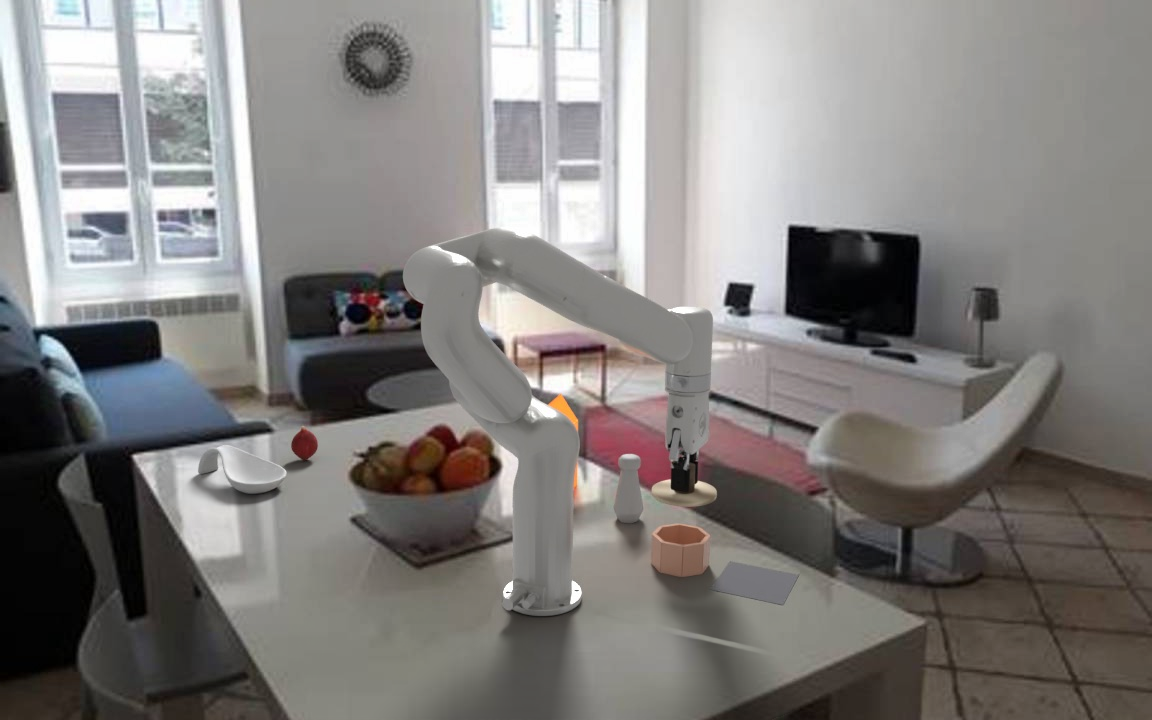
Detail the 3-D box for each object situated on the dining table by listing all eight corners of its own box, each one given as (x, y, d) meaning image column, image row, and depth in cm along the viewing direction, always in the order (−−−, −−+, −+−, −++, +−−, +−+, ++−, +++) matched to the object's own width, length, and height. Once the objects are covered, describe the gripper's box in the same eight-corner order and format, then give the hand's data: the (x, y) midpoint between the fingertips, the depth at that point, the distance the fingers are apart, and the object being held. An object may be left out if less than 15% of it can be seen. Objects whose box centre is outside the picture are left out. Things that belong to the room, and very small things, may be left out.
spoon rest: (298, 488, 198) (297, 455, 197) (251, 504, 189) (249, 470, 187) (229, 465, 211) (227, 435, 210) (181, 480, 202) (179, 448, 200)
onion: (324, 459, 216) (322, 425, 214) (304, 466, 211) (302, 431, 209) (306, 454, 219) (304, 421, 217) (286, 461, 214) (284, 427, 212)
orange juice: (577, 484, 202) (579, 394, 198) (566, 499, 194) (567, 405, 189) (543, 480, 204) (543, 391, 200) (530, 494, 196) (530, 402, 191)
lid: (705, 511, 153) (706, 480, 152) (642, 500, 157) (642, 470, 156) (724, 489, 163) (725, 460, 162) (664, 479, 167) (665, 451, 166)
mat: (782, 608, 149) (782, 604, 149) (709, 592, 154) (709, 589, 154) (798, 578, 159) (799, 574, 159) (729, 564, 164) (730, 561, 164)
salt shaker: (643, 514, 186) (645, 451, 183) (642, 525, 181) (644, 461, 178) (614, 512, 187) (615, 450, 184) (612, 524, 181) (613, 459, 178)
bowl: (697, 583, 157) (698, 549, 156) (645, 572, 161) (646, 539, 159) (713, 561, 165) (715, 529, 164) (663, 551, 169) (664, 520, 168)
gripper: (693, 396, 147) (689, 506, 151) (723, 373, 161) (719, 474, 166) (648, 390, 150) (646, 499, 154) (682, 369, 165) (678, 468, 169)
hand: (684, 485), depth 160 cm, fingers closed on lid, 3 cm apart
